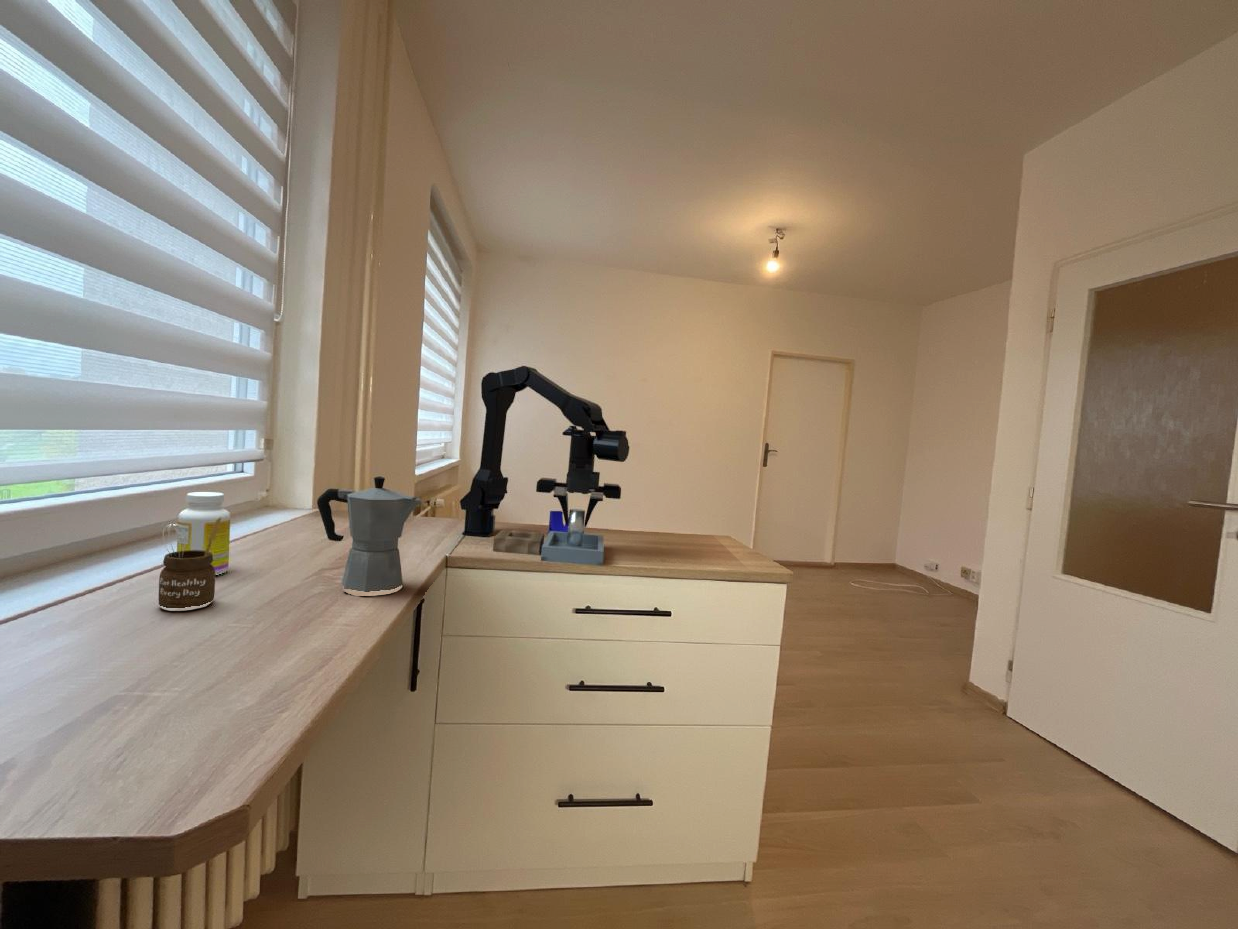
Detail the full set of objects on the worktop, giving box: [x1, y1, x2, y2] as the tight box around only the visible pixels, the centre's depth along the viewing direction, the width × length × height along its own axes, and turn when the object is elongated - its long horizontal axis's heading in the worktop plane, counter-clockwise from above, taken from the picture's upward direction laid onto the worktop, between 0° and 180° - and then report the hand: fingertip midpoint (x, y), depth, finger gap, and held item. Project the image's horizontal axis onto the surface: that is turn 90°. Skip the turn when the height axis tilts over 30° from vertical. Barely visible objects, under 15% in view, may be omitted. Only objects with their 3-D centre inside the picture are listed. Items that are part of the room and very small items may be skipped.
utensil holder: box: [158, 517, 221, 608], centre depth 73 cm, size 6×6×12 cm
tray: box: [540, 531, 605, 566], centre depth 124 cm, size 13×18×3 cm
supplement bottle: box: [176, 491, 231, 575], centre depth 87 cm, size 7×7×13 cm
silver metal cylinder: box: [567, 508, 586, 547], centre depth 124 cm, size 4×4×8 cm
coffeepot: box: [316, 476, 423, 592], centre depth 87 cm, size 15×9×18 cm, turn 101°
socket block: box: [492, 529, 545, 556], centre depth 125 cm, size 10×10×3 cm
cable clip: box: [548, 510, 585, 534], centre depth 142 cm, size 12×4×6 cm, turn 29°
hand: (576, 526), depth 124 cm, fingers open, 4 cm apart
